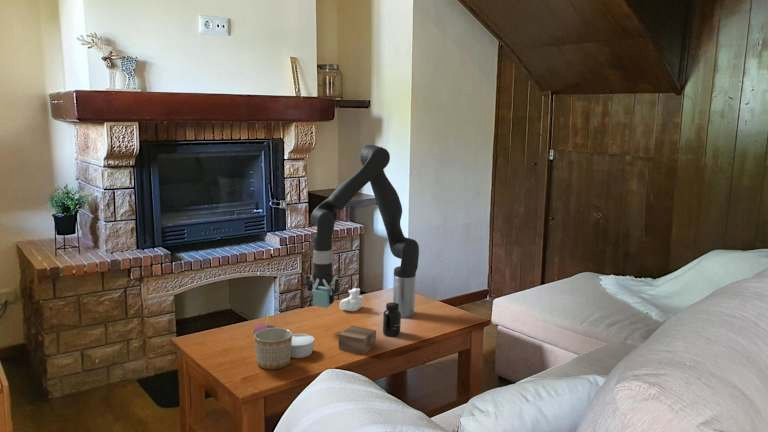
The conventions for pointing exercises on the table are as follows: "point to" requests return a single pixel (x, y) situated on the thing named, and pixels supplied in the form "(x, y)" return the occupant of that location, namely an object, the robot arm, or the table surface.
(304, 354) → the ramekin
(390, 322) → the supplement bottle
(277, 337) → the planter
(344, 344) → the walnut block
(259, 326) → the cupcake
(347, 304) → the duck figurine
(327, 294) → the teal cube
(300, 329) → the table surface
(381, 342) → the table surface
